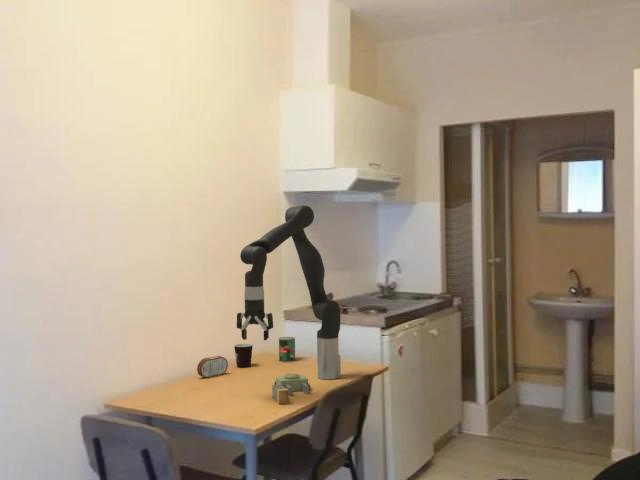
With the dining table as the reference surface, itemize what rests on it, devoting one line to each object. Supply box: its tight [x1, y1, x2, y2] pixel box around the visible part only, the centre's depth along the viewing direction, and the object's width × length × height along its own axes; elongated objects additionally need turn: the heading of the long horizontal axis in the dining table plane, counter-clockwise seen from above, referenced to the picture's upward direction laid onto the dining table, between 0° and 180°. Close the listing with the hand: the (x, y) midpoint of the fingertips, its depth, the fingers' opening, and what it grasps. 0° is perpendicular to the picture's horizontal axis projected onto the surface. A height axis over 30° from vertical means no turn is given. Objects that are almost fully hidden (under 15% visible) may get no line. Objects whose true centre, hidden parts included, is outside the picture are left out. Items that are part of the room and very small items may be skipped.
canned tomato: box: [278, 336, 296, 363], centre depth 326 cm, size 8×8×11 cm
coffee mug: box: [233, 343, 253, 369], centre depth 316 cm, size 12×9×10 cm
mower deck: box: [273, 373, 311, 397], centre depth 267 cm, size 12×15×6 cm
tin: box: [196, 355, 229, 379], centre depth 295 cm, size 15×3×8 cm, turn 134°
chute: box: [271, 384, 290, 406], centre depth 251 cm, size 4×10×5 cm, turn 18°
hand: (255, 339), depth 260 cm, fingers open, 8 cm apart
